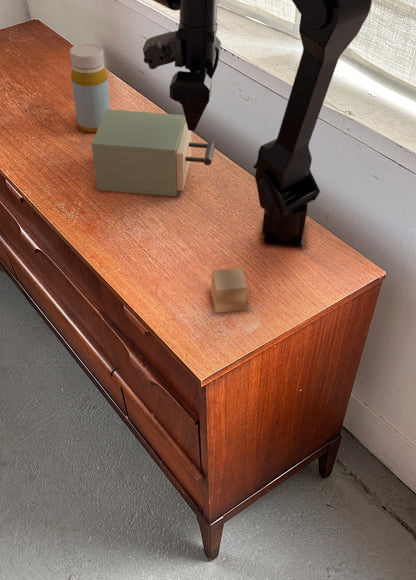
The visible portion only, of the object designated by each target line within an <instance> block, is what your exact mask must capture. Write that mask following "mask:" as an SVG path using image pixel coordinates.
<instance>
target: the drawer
mask: <svg viewBox="0 0 416 580" xmlns="http://www.w3.org/2000/svg"><path fill="white" fill-rule="evenodd" d="M215 146H216V144H215V142H214V141H208V142H207V143H201V142H192V131H189V130H188V127H187V123H186V121H185V123H184V127H183V130H182V134H181V138H180V142H179V145H178V147H177V151H176V174H177V190H178V191H181V192H183V191H184V188H185V185H186V180H187V176H188V173H189V168H190V164H191V163H192V162H193V163H203V164H204V165H205V166H210V165H211V164H212V161H213V156H214V150H215ZM192 148H199V149H200V148H201V149H205V153H204V157H198V156H197V157H196V156H192Z"/></svg>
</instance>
